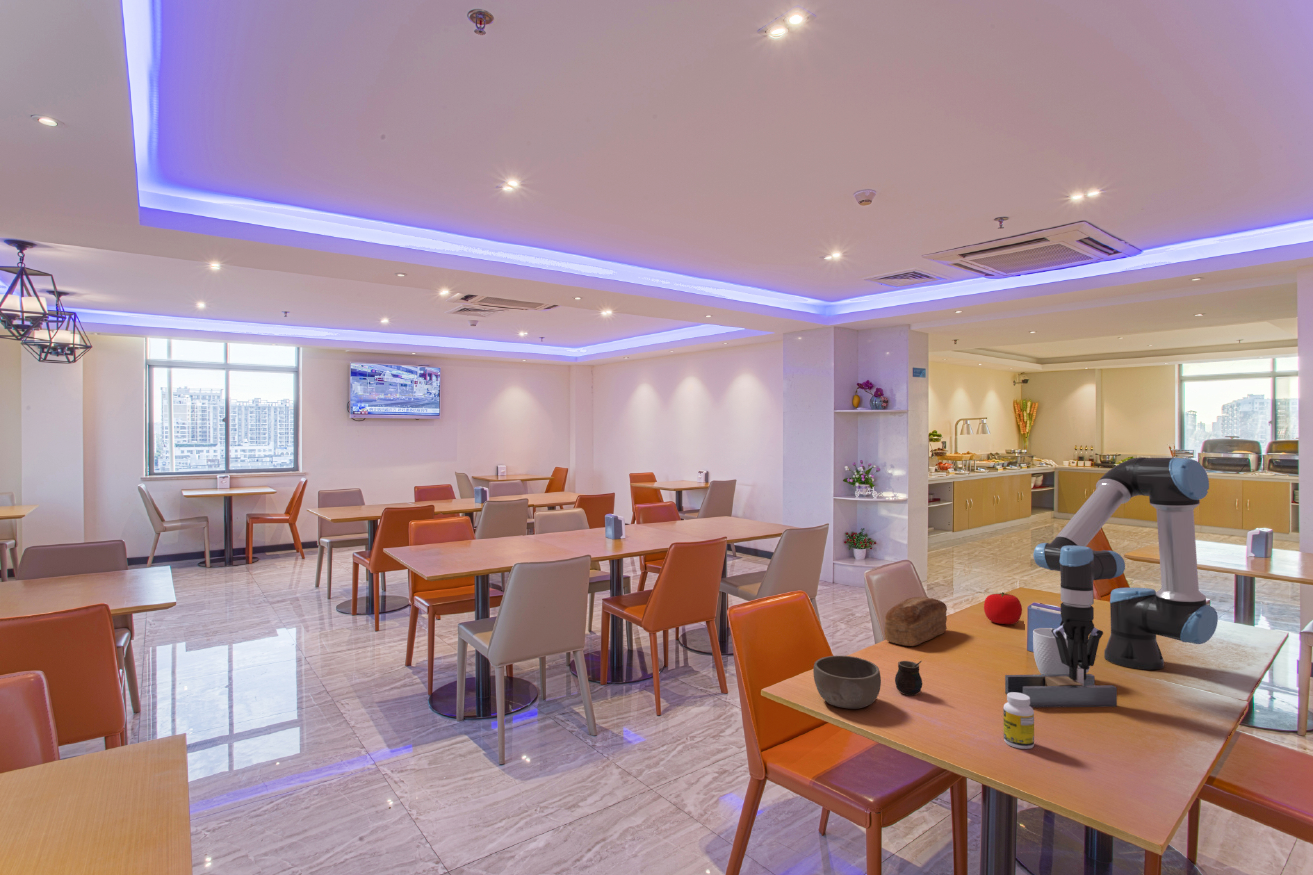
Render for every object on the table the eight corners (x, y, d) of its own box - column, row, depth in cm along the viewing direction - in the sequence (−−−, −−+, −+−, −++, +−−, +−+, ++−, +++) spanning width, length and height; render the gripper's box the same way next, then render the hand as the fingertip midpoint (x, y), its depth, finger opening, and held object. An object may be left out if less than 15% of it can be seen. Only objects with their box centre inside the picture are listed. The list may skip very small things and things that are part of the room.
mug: (1098, 683, 188) (1098, 637, 189) (1080, 691, 182) (1080, 644, 183) (1044, 668, 201) (1044, 625, 201) (1026, 675, 195) (1025, 631, 195)
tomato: (991, 627, 246) (991, 596, 246) (979, 617, 259) (979, 588, 259) (1028, 628, 243) (1027, 597, 244) (1014, 618, 257) (1014, 589, 257)
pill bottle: (997, 738, 154) (997, 691, 154) (1022, 737, 154) (1022, 690, 154) (1014, 750, 148) (1014, 701, 148) (1040, 749, 148) (1040, 700, 148)
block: (1067, 692, 180) (1067, 676, 180) (1082, 701, 174) (1082, 684, 174) (1045, 693, 180) (1045, 676, 180) (1059, 702, 173) (1059, 685, 173)
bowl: (846, 721, 164) (845, 681, 164) (799, 697, 179) (799, 660, 180) (895, 708, 172) (895, 669, 172) (847, 686, 187) (846, 651, 188)
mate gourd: (901, 685, 187) (901, 650, 187) (927, 693, 182) (928, 657, 182) (889, 692, 182) (890, 656, 182) (916, 700, 177) (917, 663, 177)
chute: (1091, 692, 182) (1090, 674, 182) (1116, 706, 172) (1116, 687, 172) (1005, 693, 181) (1005, 674, 181) (1026, 707, 171) (1026, 688, 171)
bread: (952, 632, 240) (951, 595, 240) (913, 650, 219) (913, 610, 219) (919, 625, 249) (919, 590, 249) (879, 643, 228) (879, 604, 228)
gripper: (1091, 600, 181) (1092, 686, 180) (1044, 600, 180) (1045, 686, 180) (1110, 607, 173) (1111, 696, 173) (1061, 607, 173) (1062, 697, 173)
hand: (1077, 691), depth 177 cm, fingers closed
